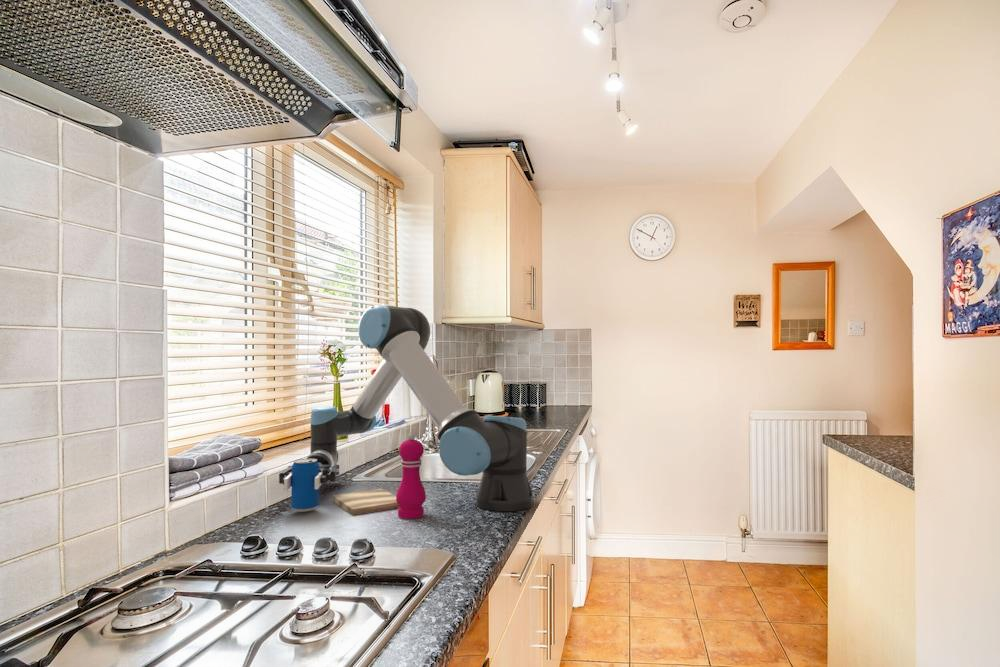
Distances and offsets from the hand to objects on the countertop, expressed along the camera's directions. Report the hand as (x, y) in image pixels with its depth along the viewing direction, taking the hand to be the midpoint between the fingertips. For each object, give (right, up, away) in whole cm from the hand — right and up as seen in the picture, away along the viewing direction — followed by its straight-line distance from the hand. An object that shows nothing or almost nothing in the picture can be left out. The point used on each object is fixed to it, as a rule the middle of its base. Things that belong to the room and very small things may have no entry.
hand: (301, 484), depth 135 cm
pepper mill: (+26, -8, +2) cm, 28 cm away
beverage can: (-1, -8, +5) cm, 9 cm away
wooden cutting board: (+13, -9, +13) cm, 20 cm away
